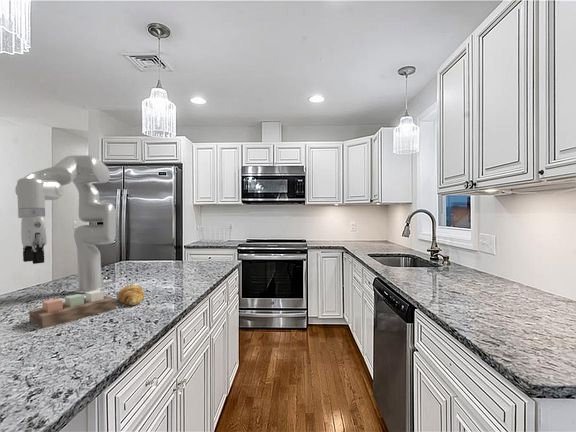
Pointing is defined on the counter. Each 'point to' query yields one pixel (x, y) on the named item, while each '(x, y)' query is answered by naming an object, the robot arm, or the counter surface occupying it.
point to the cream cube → (94, 296)
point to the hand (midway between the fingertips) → (33, 262)
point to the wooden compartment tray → (71, 312)
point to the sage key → (74, 300)
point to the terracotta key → (52, 305)
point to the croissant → (130, 295)
